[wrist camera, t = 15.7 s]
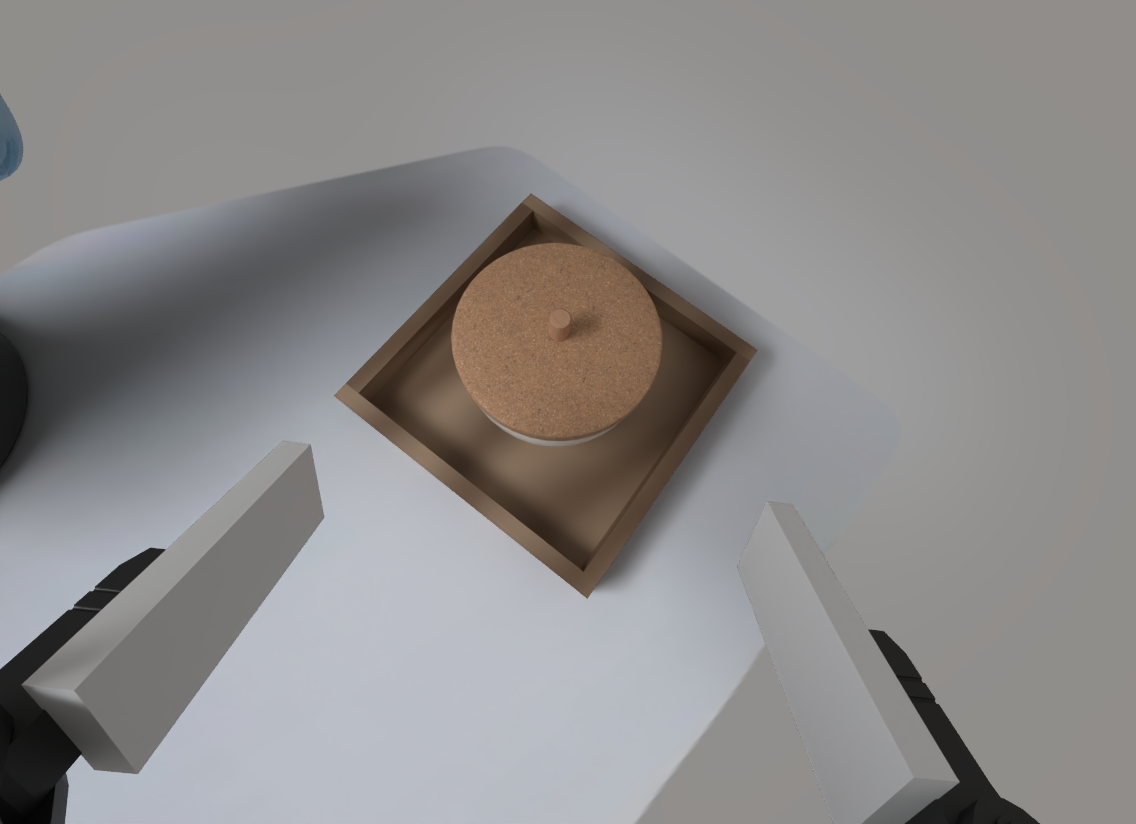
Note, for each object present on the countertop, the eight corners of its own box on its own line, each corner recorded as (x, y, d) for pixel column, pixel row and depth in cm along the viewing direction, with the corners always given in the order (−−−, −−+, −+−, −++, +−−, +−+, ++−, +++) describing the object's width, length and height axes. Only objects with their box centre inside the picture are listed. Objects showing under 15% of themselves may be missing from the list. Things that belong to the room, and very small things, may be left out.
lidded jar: (565, 283, 32) (577, 184, 23) (664, 396, 30) (719, 338, 21) (440, 368, 30) (397, 296, 20) (539, 496, 28) (540, 480, 19)
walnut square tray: (350, 407, 29) (333, 395, 27) (531, 217, 34) (530, 193, 31) (582, 592, 27) (587, 598, 25) (740, 363, 32) (757, 350, 29)
